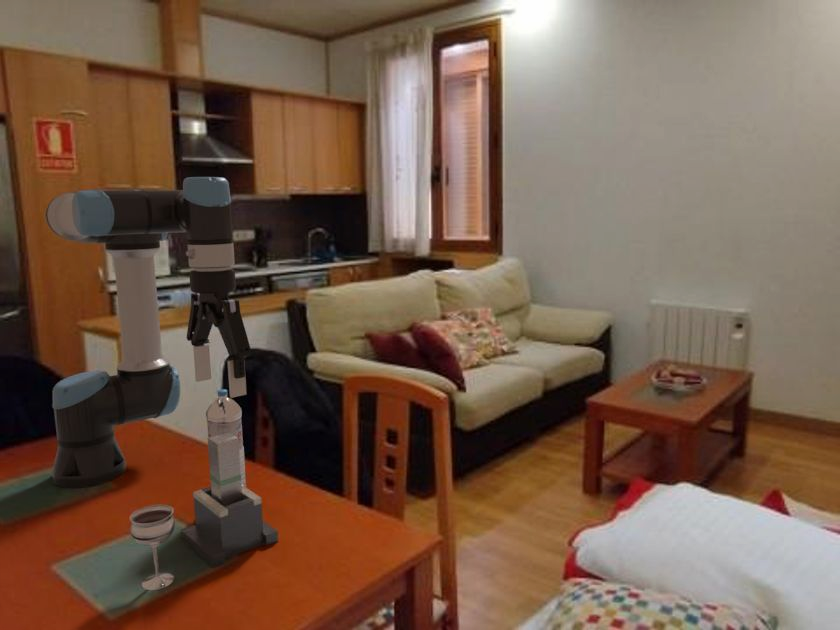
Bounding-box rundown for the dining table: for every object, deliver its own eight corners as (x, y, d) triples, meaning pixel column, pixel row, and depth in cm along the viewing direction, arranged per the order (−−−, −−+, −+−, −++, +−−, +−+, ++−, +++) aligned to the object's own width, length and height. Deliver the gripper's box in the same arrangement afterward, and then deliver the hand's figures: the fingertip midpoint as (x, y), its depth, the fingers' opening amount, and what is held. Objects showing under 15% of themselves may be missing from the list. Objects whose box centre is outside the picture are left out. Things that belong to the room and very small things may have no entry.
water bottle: (237, 517, 129) (229, 396, 125) (206, 514, 130) (197, 394, 126) (253, 501, 136) (246, 386, 131) (223, 498, 137) (215, 385, 133)
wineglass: (176, 590, 105) (170, 521, 103) (131, 596, 104) (124, 526, 101) (182, 567, 112) (177, 502, 109) (140, 572, 110) (134, 506, 108)
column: (210, 536, 122) (203, 435, 118) (231, 529, 124) (224, 430, 121) (228, 551, 116) (221, 446, 113) (249, 543, 119) (242, 440, 116)
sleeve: (181, 539, 121) (178, 494, 119) (244, 516, 129) (242, 474, 128) (212, 567, 111) (208, 519, 110) (278, 541, 120) (275, 495, 118)
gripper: (162, 265, 118) (171, 378, 122) (224, 276, 100) (233, 408, 104) (201, 262, 123) (209, 370, 127) (268, 272, 105) (274, 398, 109)
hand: (220, 387), depth 115 cm, fingers open, 13 cm apart
